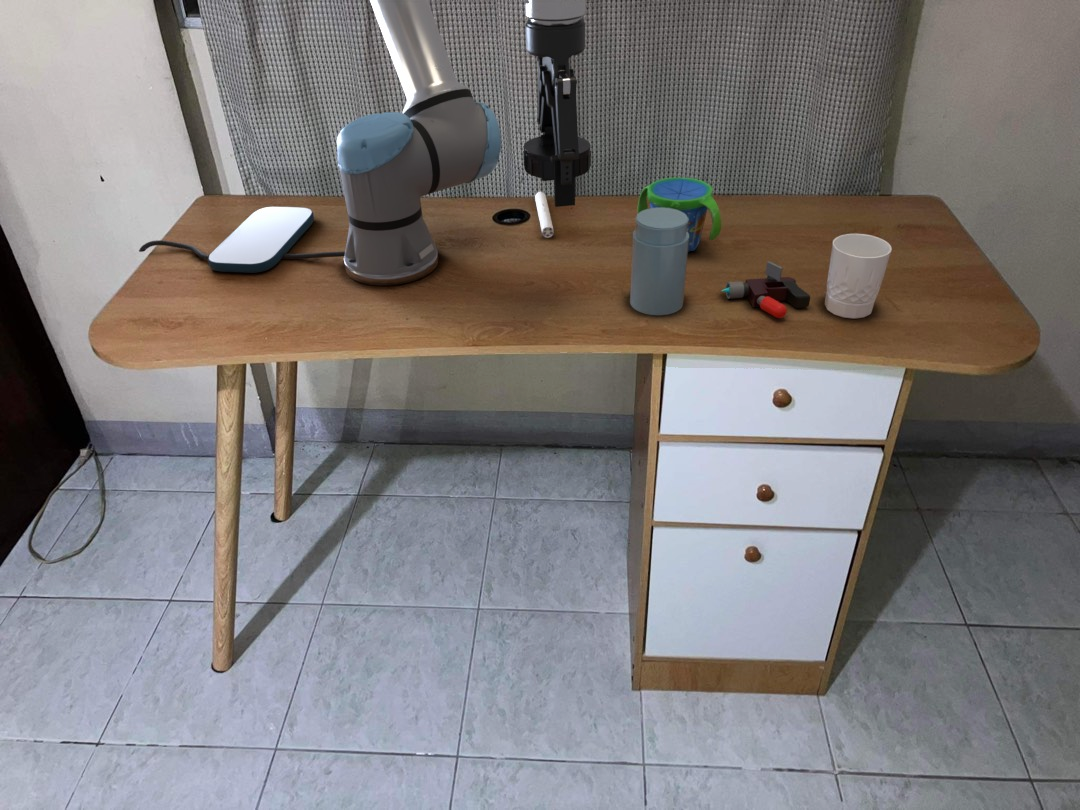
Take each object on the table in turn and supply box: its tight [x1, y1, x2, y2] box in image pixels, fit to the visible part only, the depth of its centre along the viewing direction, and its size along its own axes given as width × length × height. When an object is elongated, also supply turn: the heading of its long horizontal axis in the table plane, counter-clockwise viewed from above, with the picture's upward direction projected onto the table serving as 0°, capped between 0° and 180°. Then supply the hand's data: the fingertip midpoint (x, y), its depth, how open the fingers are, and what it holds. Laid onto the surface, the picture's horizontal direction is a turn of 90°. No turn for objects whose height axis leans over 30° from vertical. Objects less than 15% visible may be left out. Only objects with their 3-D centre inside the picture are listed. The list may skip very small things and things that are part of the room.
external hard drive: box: [207, 206, 315, 274], centre depth 145 cm, size 24×12×2 cm, turn 172°
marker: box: [534, 191, 555, 239], centre depth 151 cm, size 18×2×2 cm, turn 5°
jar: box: [629, 207, 689, 316], centre depth 121 cm, size 8×8×14 cm
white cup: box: [824, 233, 893, 320], centre depth 119 cm, size 8×8×10 cm
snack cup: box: [636, 176, 722, 253], centre depth 138 cm, size 16×10×10 cm
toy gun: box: [720, 260, 811, 319], centre depth 122 cm, size 10×12×5 cm
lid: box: [522, 135, 592, 179], centre depth 114 cm, size 9×9×3 cm
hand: (557, 191), depth 117 cm, fingers closed on lid, 9 cm apart
